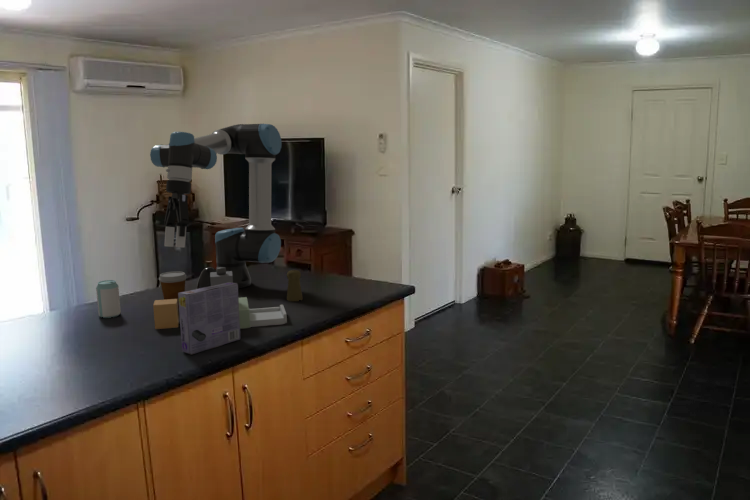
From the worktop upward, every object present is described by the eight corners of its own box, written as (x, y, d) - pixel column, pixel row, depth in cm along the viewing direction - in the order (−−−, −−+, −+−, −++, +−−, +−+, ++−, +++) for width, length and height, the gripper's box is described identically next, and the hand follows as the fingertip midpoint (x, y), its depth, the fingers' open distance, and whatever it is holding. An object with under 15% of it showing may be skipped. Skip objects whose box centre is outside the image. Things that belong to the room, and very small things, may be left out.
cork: (304, 300, 235) (303, 271, 233) (288, 302, 233) (287, 272, 231) (300, 296, 241) (299, 268, 239) (284, 298, 239) (283, 269, 237)
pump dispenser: (219, 313, 219) (216, 270, 216) (191, 312, 221) (188, 269, 218) (231, 305, 229) (229, 264, 226) (204, 304, 231) (202, 263, 228)
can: (112, 311, 223) (109, 278, 221) (125, 314, 219) (122, 280, 217) (94, 316, 217) (91, 282, 215) (107, 319, 213) (104, 285, 211)
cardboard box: (156, 323, 209) (155, 300, 207) (179, 322, 210) (177, 298, 209) (155, 329, 203) (153, 305, 202) (177, 327, 205) (176, 303, 203)
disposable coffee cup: (167, 311, 222) (164, 278, 220) (156, 306, 230) (154, 273, 227) (192, 306, 228) (190, 274, 226) (182, 301, 235) (179, 270, 233)
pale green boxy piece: (205, 317, 215) (202, 265, 212) (282, 311, 221) (280, 260, 218) (204, 331, 200) (201, 275, 197) (287, 324, 206) (285, 270, 203)
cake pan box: (234, 335, 196) (231, 279, 193) (244, 338, 193) (241, 282, 190) (180, 352, 181) (176, 292, 178) (190, 356, 178) (186, 295, 175)
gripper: (157, 182, 212) (152, 245, 211) (177, 176, 191) (172, 246, 190) (180, 184, 216) (175, 247, 215) (202, 179, 195) (197, 248, 194)
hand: (174, 247), depth 203 cm, fingers open, 13 cm apart
